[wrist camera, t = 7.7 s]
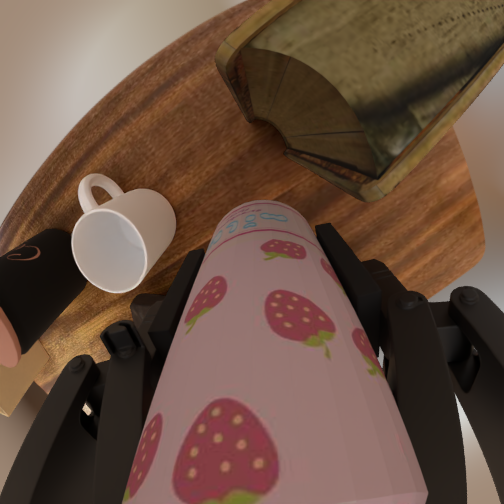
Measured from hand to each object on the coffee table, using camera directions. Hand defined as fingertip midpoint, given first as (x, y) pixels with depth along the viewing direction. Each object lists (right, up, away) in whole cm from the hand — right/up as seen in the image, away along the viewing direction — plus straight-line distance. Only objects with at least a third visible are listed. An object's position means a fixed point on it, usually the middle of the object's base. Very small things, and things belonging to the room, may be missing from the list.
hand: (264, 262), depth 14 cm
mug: (-14, +6, +18) cm, 24 cm away
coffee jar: (-28, -1, +21) cm, 35 cm away
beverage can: (0, +1, +2) cm, 2 cm away
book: (+7, +18, +13) cm, 23 cm away
